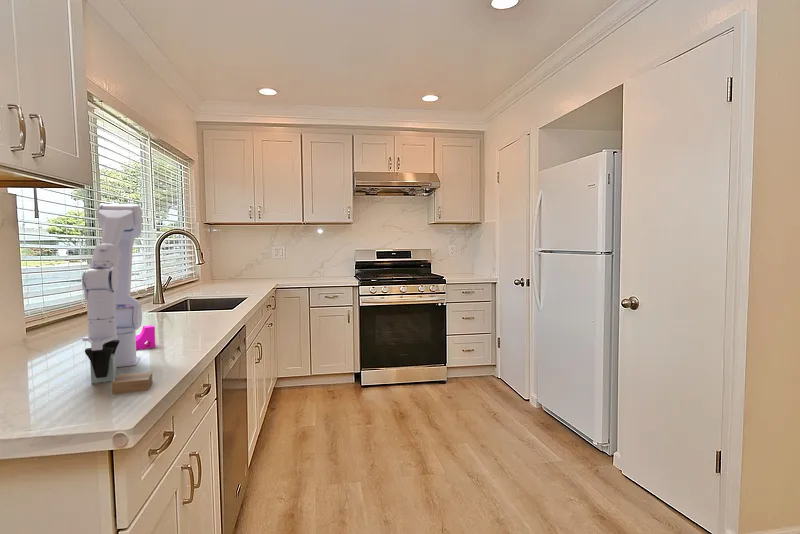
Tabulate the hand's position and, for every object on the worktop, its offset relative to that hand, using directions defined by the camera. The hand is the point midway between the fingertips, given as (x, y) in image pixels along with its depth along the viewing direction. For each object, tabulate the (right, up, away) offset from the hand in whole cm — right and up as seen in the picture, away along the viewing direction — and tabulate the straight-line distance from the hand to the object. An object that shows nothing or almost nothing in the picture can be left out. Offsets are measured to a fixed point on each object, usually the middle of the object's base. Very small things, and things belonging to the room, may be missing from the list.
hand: (104, 374), depth 110 cm
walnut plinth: (+11, -2, -6) cm, 13 cm away
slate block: (0, -2, 0) cm, 2 cm away
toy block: (-13, -1, +31) cm, 34 cm away
